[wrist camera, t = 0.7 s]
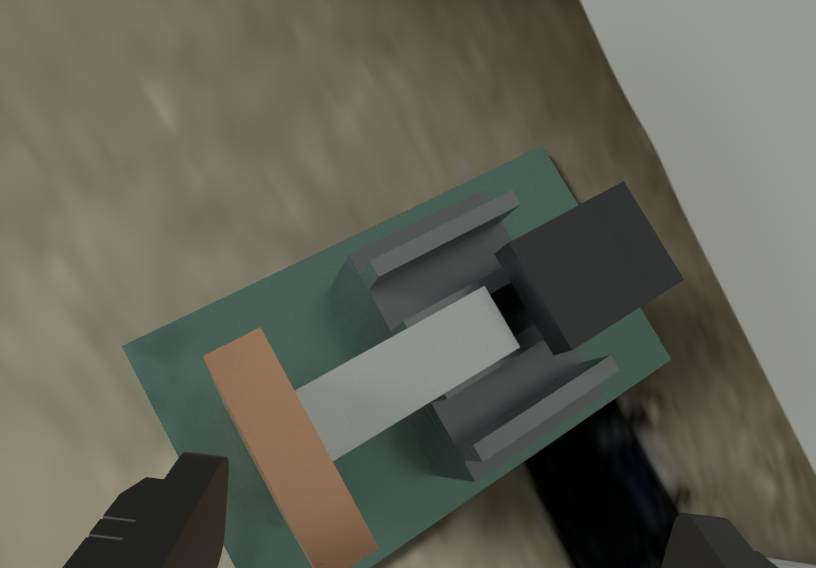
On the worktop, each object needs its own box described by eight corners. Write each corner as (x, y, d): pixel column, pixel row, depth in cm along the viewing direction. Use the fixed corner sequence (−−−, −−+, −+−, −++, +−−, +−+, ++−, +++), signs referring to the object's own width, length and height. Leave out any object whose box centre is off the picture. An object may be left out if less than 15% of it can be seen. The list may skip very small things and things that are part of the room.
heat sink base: (126, 349, 33) (58, 293, 20) (534, 154, 42) (653, 36, 30) (269, 629, 31) (288, 747, 19) (659, 361, 41) (837, 326, 28)
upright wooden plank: (222, 403, 32) (202, 356, 15) (410, 302, 36) (564, 173, 19) (278, 509, 31) (323, 586, 14) (463, 395, 35) (670, 348, 18)
